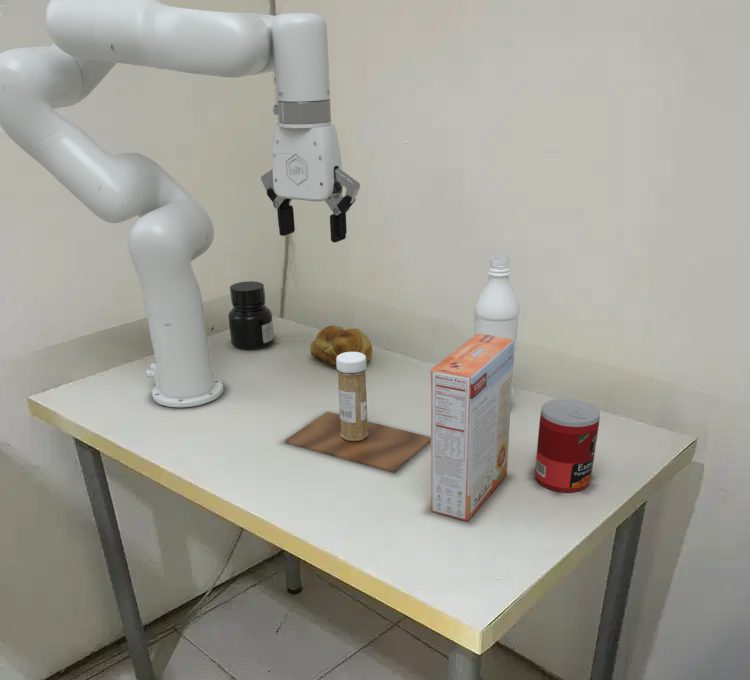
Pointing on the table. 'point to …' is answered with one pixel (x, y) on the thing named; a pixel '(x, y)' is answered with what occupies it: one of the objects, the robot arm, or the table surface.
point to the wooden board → (360, 443)
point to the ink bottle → (250, 317)
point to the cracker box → (470, 424)
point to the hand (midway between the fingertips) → (312, 237)
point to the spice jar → (352, 395)
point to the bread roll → (339, 344)
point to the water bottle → (497, 304)
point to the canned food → (566, 444)
